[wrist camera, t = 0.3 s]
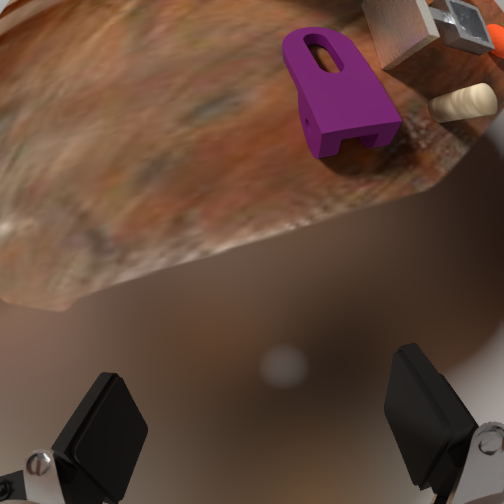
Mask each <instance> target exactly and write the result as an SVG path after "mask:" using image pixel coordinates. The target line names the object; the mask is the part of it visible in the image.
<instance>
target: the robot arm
mask: <svg viewBox="0 0 504 504" xmlns="http://www.w3.org/2000/svg"><path fill="white" fill-rule="evenodd" d="M384 412H385V416H386V418H387V420H388V423H389V425H390V428H391V430H392V432H393V435H394V437H395V440H396V442H397V444H398V447H399V449H400V452H401V454H402V457H403V459H404V462H405V464H406V467H407V470H408V472H409V475H410V477H411V480H412V482H413V484H414V485H415V486H416V485H418V486H419V488H420V491H421V490H424V489H426V488H429V487H432V490H433V492H434V494H435V495H434V497H433V499H432V501H431V504H504V424H502V423H499V422H488V423H484V424H483V425H481V426H478V424H477V423H476V421H475V420H474V418H473V417H472V415H471V414H470V412H469V411H468V410H467V408H466V407H465V405H464V404H463V402H462V401H461V400H460V398H459V397H458V395H457V394H456V392H455V391H454V390H453V388H452V387H451V385H450V384H449V383H448V381H446V379H445V377H444V376H443V375H442V374H440V373H438V372H437V370H436V369H435V368H434V366H433V365H432V363H431V362H430V361H429V360H428V358H427V357H426V356H425V355H424V353H423V352H422V350H421V349H420V348H419V346H418V345H417V344H416V343H411V344H408V345H404V346H400V347H399V348H398V350H397V352H395V353H394V354H393V360H392V366H391V373H390V378H389V383H388V389H387V394H386V399H385V403H384ZM147 433H148V427H147V424H146V422H145V421H144V419H143V417H142V415H141V413H140V412H139V410H138V408H137V406H136V404H135V402H134V400H133V398H132V396H131V394H130V392H129V390H128V388H127V386H126V384H125V382H124V380H123V379H122V378H121V377H119V375H118V374H117V373H107V372H103V373H101V374H100V375H99V376H98V378H97V380H96V381H95V382H94V384H93V385H92V387H91V388H90V389H89V391H88V392H87V394H86V395H85V397H84V398H83V400H82V402H81V403H80V404H79V406H78V407H77V409H76V410H75V412H74V413H73V415H72V416H71V418H70V419H69V421H68V422H67V424H66V425H65V427H64V429H63V430H62V432H61V433H60V435H59V437H58V438H57V440H56V441H55V443H54V444H53V446H52V448H51V449H52V450H53V451H54V454H53V455H51V453H50V452H48V451H46V450H35V451H33V452H31V453H30V454H29V455H28V456H27V457H26V458H25V460H24V463H23V470H20V471H17V472H14V473H11V474H7V475H4V476H1V477H0V504H102V503H103V501H104V502H105V503H108V504H118V502H119V501H120V500H122V499H123V497H124V495H125V492H126V489H127V487H128V484H129V481H130V478H131V476H132V473H133V470H134V467H135V465H136V462H137V460H138V457H139V454H140V452H141V449H142V446H143V444H144V441H145V439H146V436H147Z"/></svg>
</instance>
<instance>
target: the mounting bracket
mask: <svg viewBox="0 0 504 504" xmlns="http://www.w3.org/2000/svg"><path fill="white" fill-rule="evenodd" d="M309 44H318V45H321V46H323V47H325V48H326V50H327V51H328V53H329V54H330V56H331V57H332V59H333V61H334V62H335V64H336V65H337V67H338V69H339V70H340V72H339V73H329V72H326V71H323V70H322V69H321V68H320V67H319V66H318V64H317V62H316V61H315V59H314V57H313V56H312V54H311V52H310V51H309V49H308V47H307V45H309ZM282 49H283V59H284V62H285V64H286V66H287V68H288V70H289V72H290V75H291V77H292V79H293V81H294V83H295V85H296V87H297V90H298V105H299V114H300V119H301V123H302V127H303V130H304V134H305V138H306V141H307V144H308V146H309V149H310V151H311V153H312V155H313V156H314V158H316V159H318V158H323V157H328V156H333V155H336V154H337V153H338V151H339V148H340V144H341V140H343V139H349V138H354V137H358V138H359V140H360V141H361V143H362V144H363V145H364V146H365V147H366V148H374V147H380V146H386V145H389V144H390V143H391V141H392V139H393V137H394V136H395V134H396V132H397V130H398V128H399V126H400V125H401V123H402V119H401V117H400V116H399V114H398V112H397V110H396V108H395V107H394V105H393V103H392V101H391V100H390V98H389V96H388V94H387V93H386V91H385V89H384V88H383V86H382V85H381V83H380V81H379V80H378V78H377V77H376V75H375V74H374V72H373V71H372V69H371V68H370V66H369V65H368V63H367V62H366V60H365V59H364V57H363V56H362V54H361V53H360V52H359V50H358V49H357V48H356V46H355V45H354V43H353V42H352V41H351V40H350V39H349V38H347V37H346V36H345V35H343V34H341V33H339V32H337V31H334V30H331V29H327V28H320V27H308V28H302V29H298V30H295V31H293V32H291V33H290V34H288V35H287V36H286V37H285V38H284V40H283V43H282Z"/></svg>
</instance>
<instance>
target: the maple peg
mask: <svg viewBox="0 0 504 504" xmlns="http://www.w3.org/2000/svg"><path fill="white" fill-rule="evenodd" d="M497 108H498V103H497V98H496V96H495V94H494V92H493V90H492V89H491V88H490V87H489V86H488V85H487V84H485V83H480V84H477V85H473V86H470V87H467V88H463V89H460V90H457V91H454V92H451V93H448V94H445V95H442V96H439V97H436V98H433V99H431V100H430V101H429V104H428V109H429V113H430V115H431V117H432V118H433V119H434V120H435V121H437V122H439V123H443V122H449V121H454V120H460V119H466V118H472V117H479V116H485V115H492V114H495V113H496V111H497Z"/></svg>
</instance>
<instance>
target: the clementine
mask: <svg viewBox="0 0 504 504" xmlns="http://www.w3.org/2000/svg"><path fill="white" fill-rule="evenodd" d="M499 24H502V23H499ZM503 25H504V24H503ZM486 27H487V30H488V32H489V35H490V37H491V40H492V43H493V45H494V48H495V49H494V50H492V51H490V52H491V53H492V54H494V55H495V56H497V57H500V58H504V28H503V27H501V26H499V25H495V24H491V25H488V26H486Z"/></svg>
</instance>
